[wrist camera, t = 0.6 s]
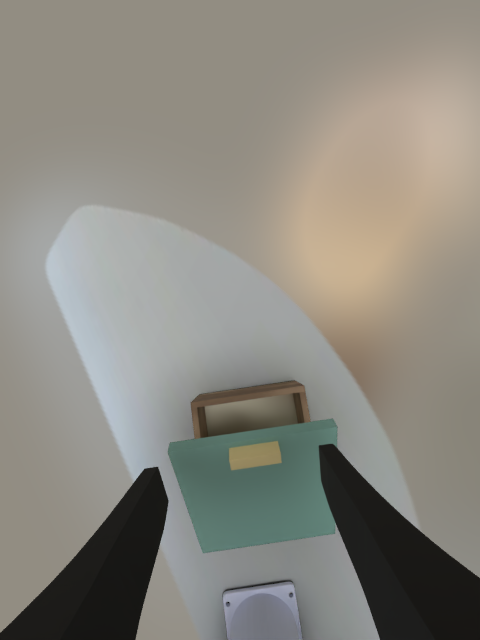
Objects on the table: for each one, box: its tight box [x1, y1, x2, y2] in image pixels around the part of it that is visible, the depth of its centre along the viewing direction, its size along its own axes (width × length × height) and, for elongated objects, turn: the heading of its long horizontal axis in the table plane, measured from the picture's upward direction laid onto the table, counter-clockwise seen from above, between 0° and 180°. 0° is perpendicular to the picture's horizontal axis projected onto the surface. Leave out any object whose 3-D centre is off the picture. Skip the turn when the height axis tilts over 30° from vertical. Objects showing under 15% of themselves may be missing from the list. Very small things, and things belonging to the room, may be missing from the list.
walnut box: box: [191, 380, 311, 439], centre depth 27 cm, size 13×12×5 cm
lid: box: [168, 419, 337, 553], centre depth 20 cm, size 14×12×2 cm
